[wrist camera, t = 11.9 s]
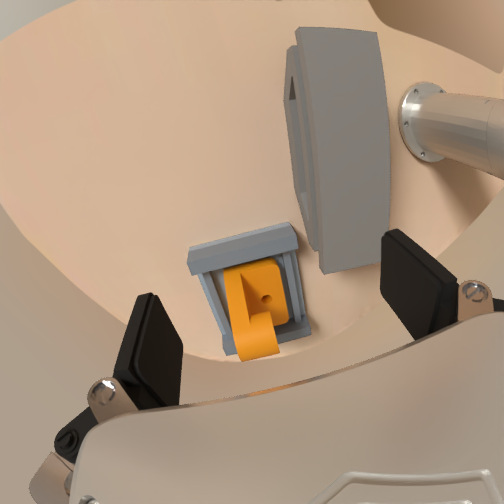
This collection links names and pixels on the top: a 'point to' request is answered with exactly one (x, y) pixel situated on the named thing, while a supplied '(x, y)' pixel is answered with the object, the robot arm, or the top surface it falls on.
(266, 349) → the bracket
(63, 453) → the robot arm
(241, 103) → the top surface
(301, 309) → the grey tray
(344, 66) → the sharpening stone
